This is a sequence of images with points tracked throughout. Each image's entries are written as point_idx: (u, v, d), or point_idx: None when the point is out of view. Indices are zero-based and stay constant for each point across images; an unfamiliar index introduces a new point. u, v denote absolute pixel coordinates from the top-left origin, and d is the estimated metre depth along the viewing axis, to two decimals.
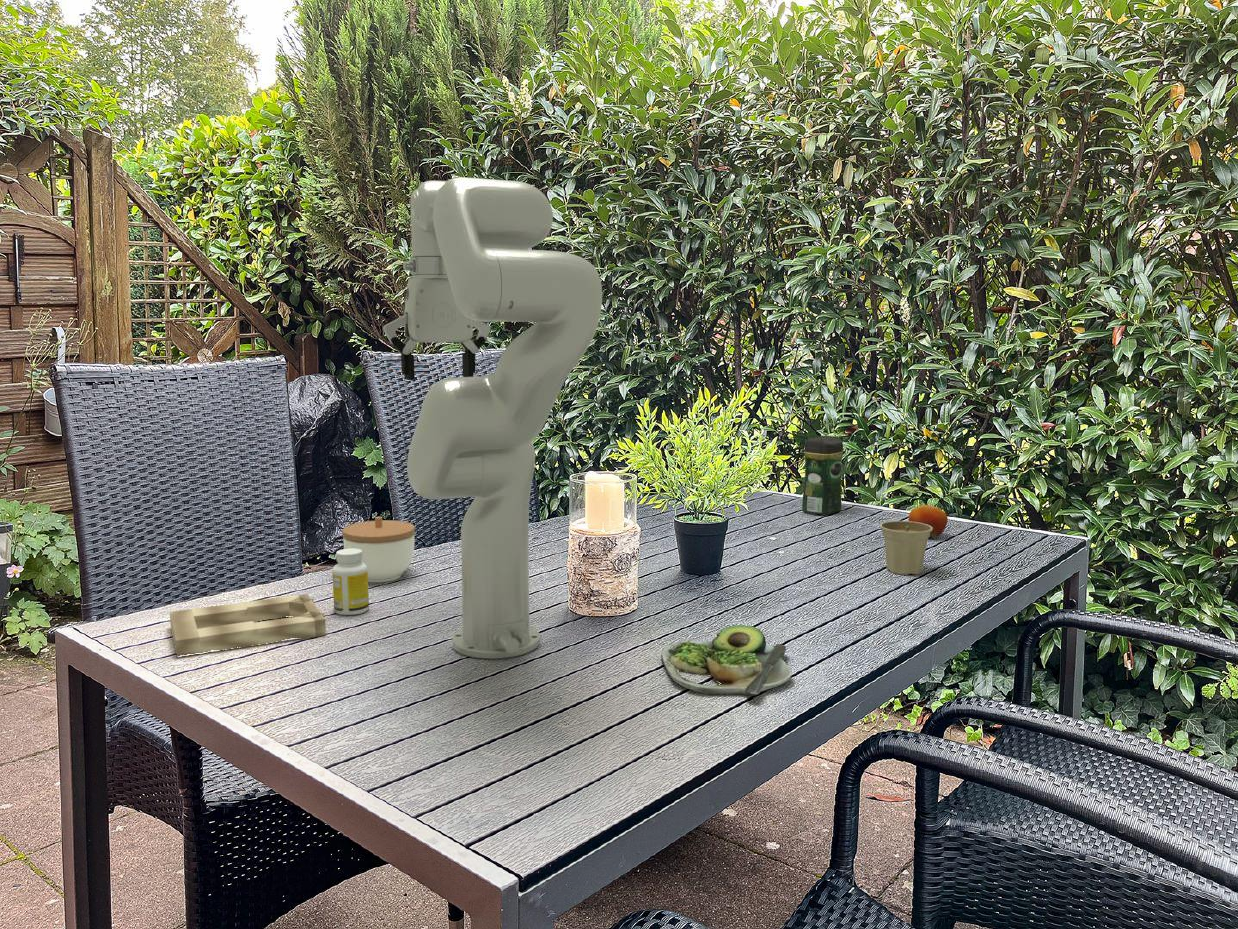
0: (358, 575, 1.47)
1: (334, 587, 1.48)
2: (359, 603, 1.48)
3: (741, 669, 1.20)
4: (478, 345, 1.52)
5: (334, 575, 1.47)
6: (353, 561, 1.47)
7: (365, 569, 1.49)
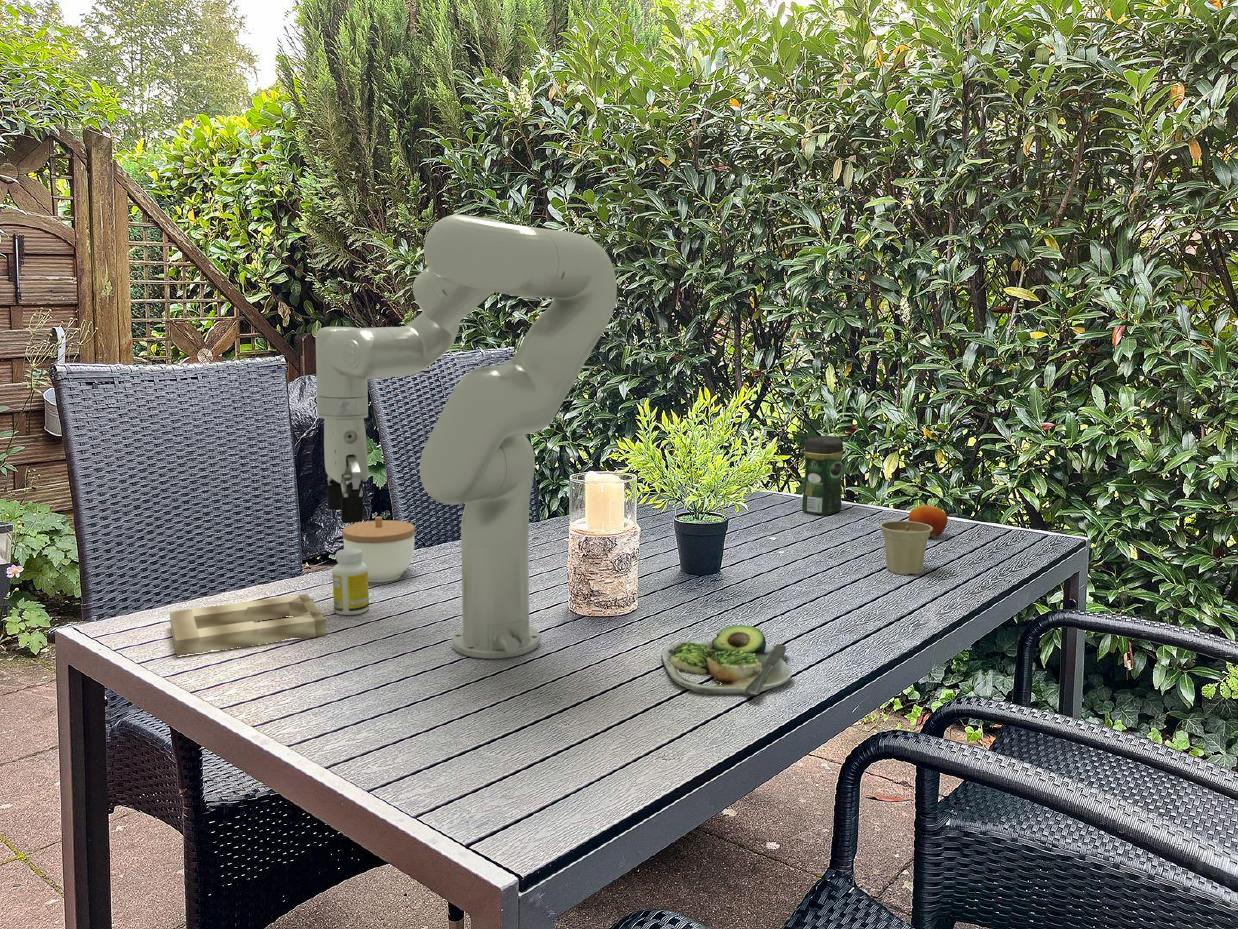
0: (358, 575, 1.47)
1: (334, 586, 1.48)
2: (359, 603, 1.48)
3: (741, 669, 1.20)
4: None
5: (334, 575, 1.47)
6: (353, 561, 1.47)
7: (365, 569, 1.49)
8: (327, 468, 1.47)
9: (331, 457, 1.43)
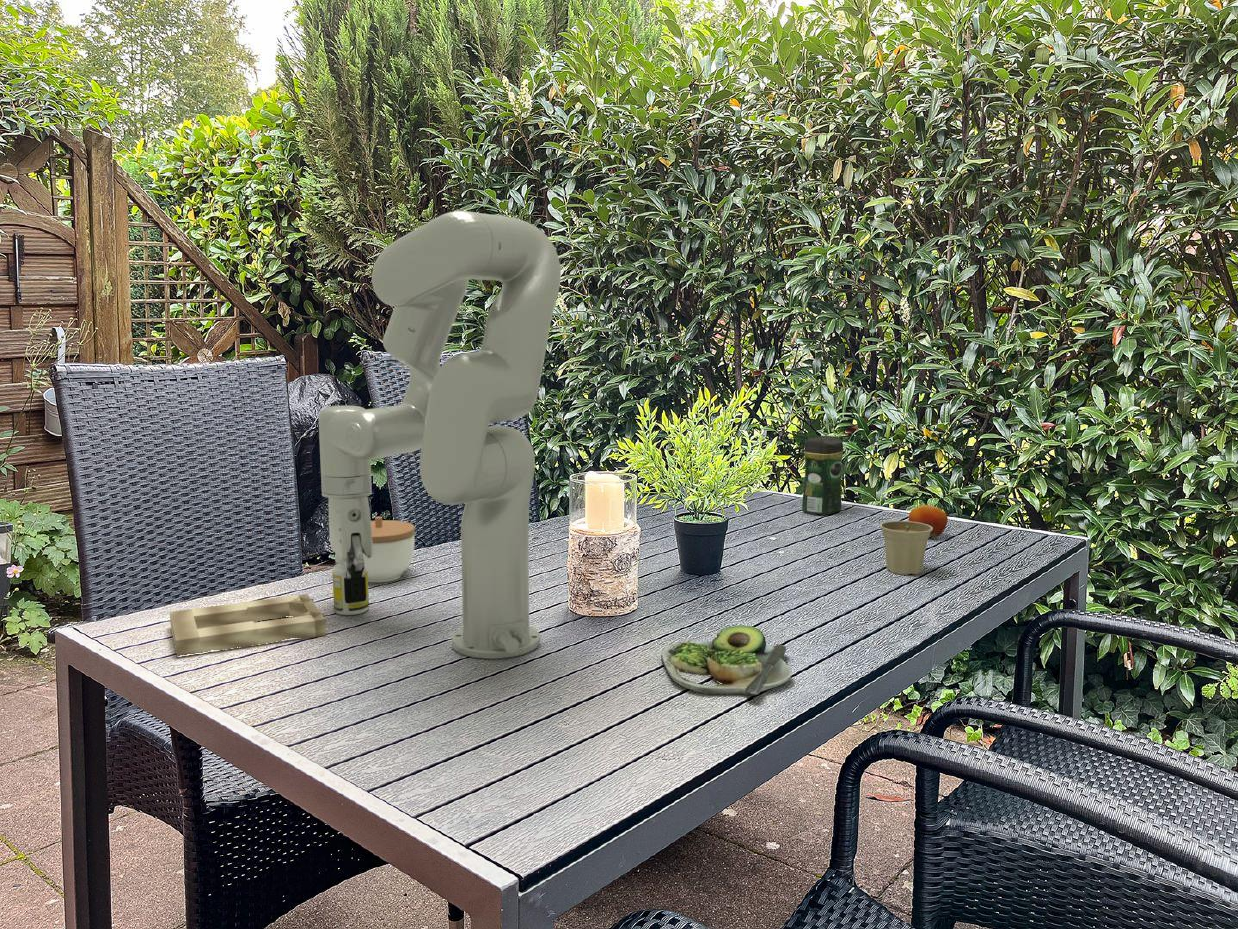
0: None
1: (334, 586, 1.48)
2: (359, 603, 1.48)
3: (741, 669, 1.20)
4: None
5: (334, 575, 1.47)
6: None
7: (365, 569, 1.49)
8: (332, 544, 1.49)
9: (336, 535, 1.45)
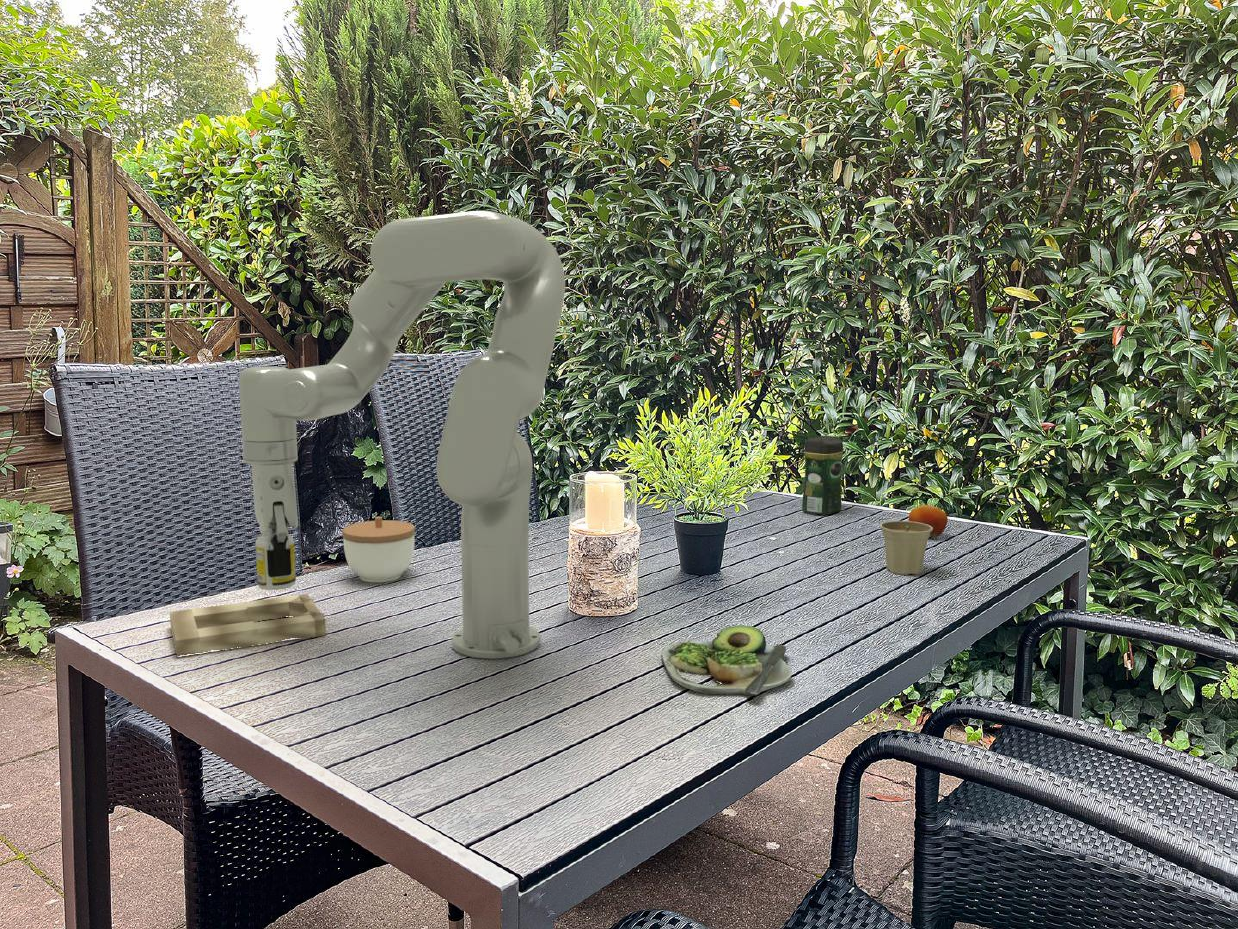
0: None
1: (257, 560, 1.39)
2: (284, 578, 1.39)
3: (741, 669, 1.20)
4: None
5: (257, 547, 1.38)
6: None
7: (291, 541, 1.40)
8: (256, 515, 1.40)
9: (258, 504, 1.36)
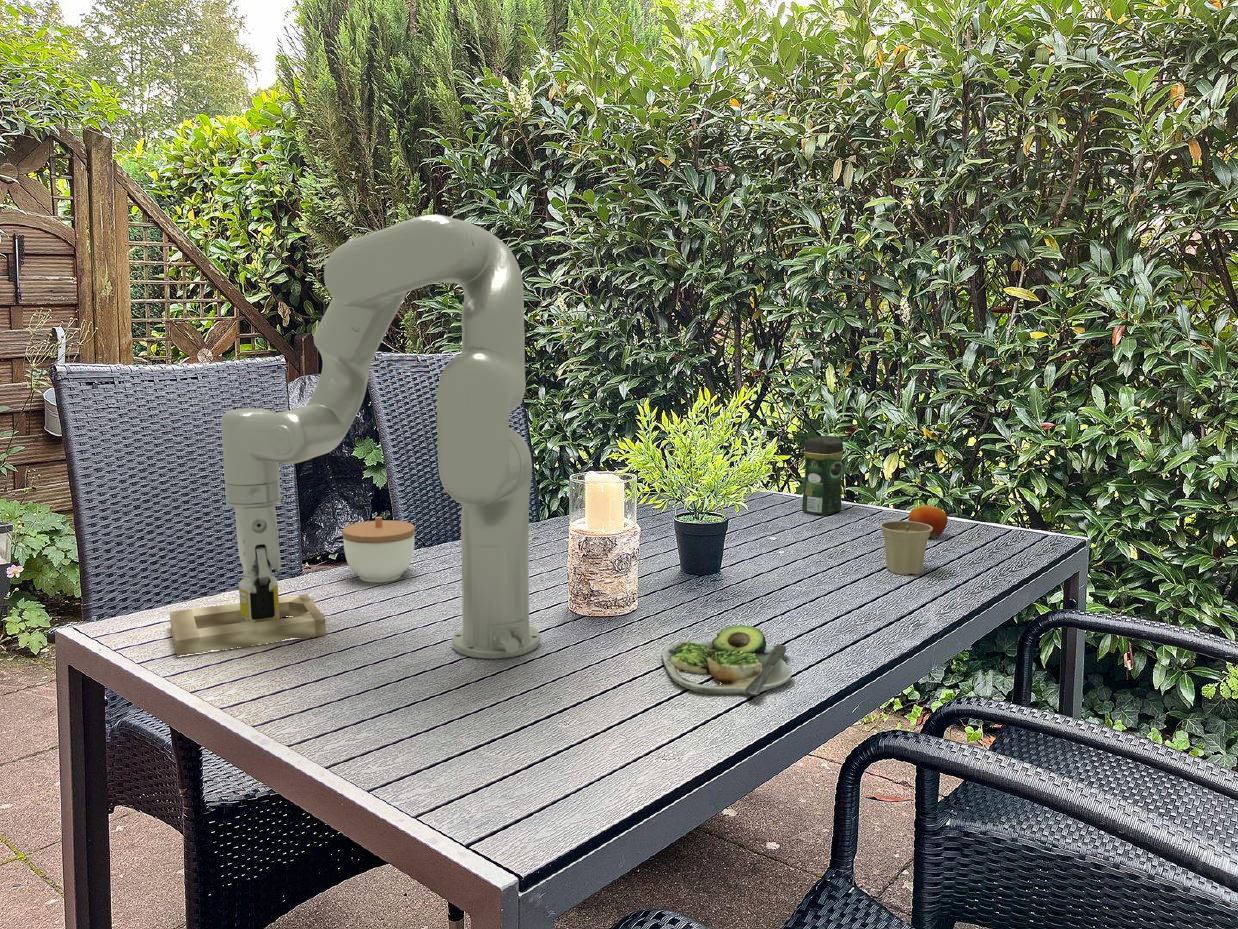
0: None
1: (240, 602, 1.39)
2: (267, 620, 1.39)
3: (741, 669, 1.20)
4: None
5: (240, 589, 1.38)
6: None
7: (274, 583, 1.39)
8: (239, 556, 1.40)
9: (241, 547, 1.36)
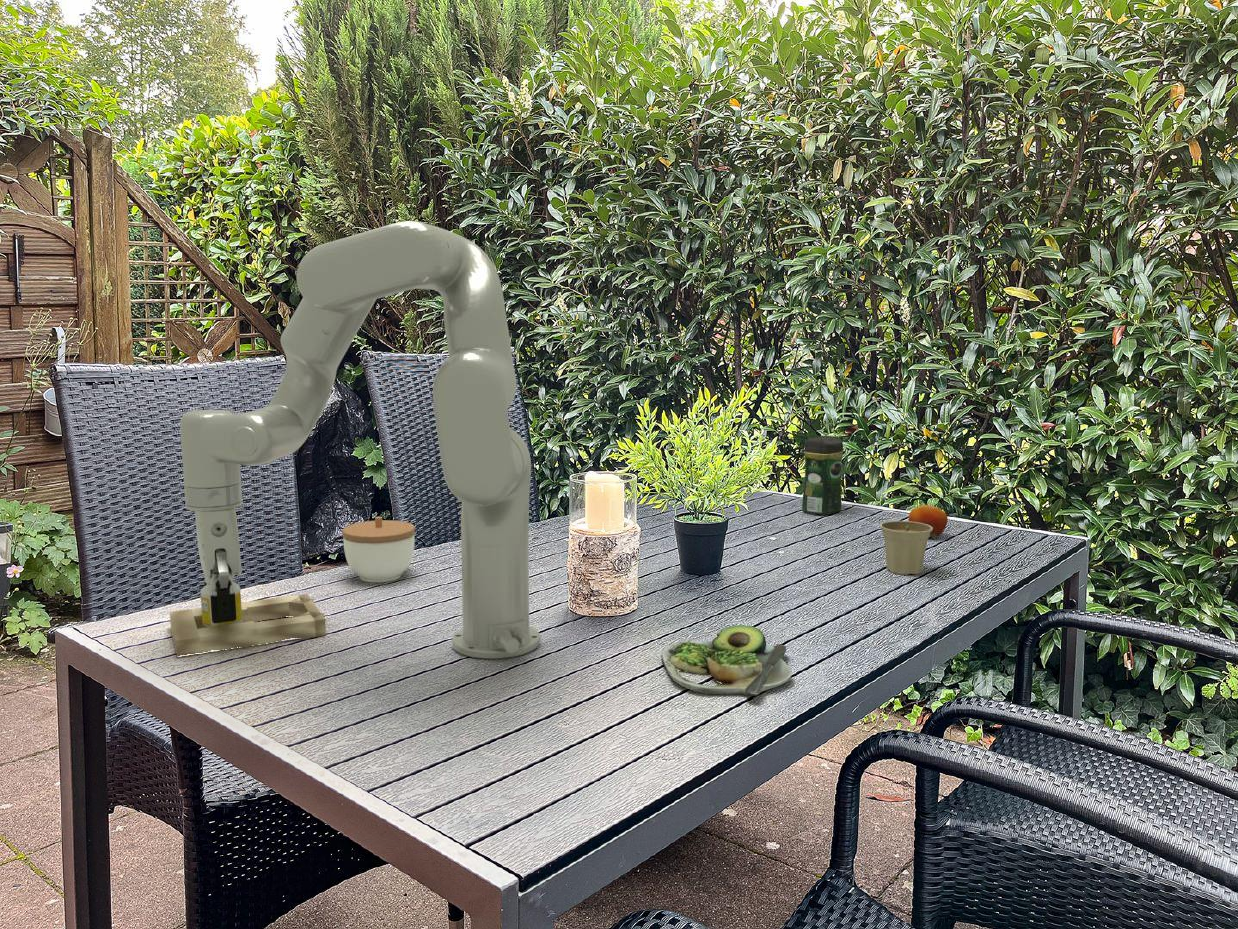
0: None
1: (202, 609, 1.36)
2: None
3: (741, 669, 1.20)
4: None
5: (202, 597, 1.36)
6: None
7: (237, 590, 1.37)
8: None
9: (200, 551, 1.33)
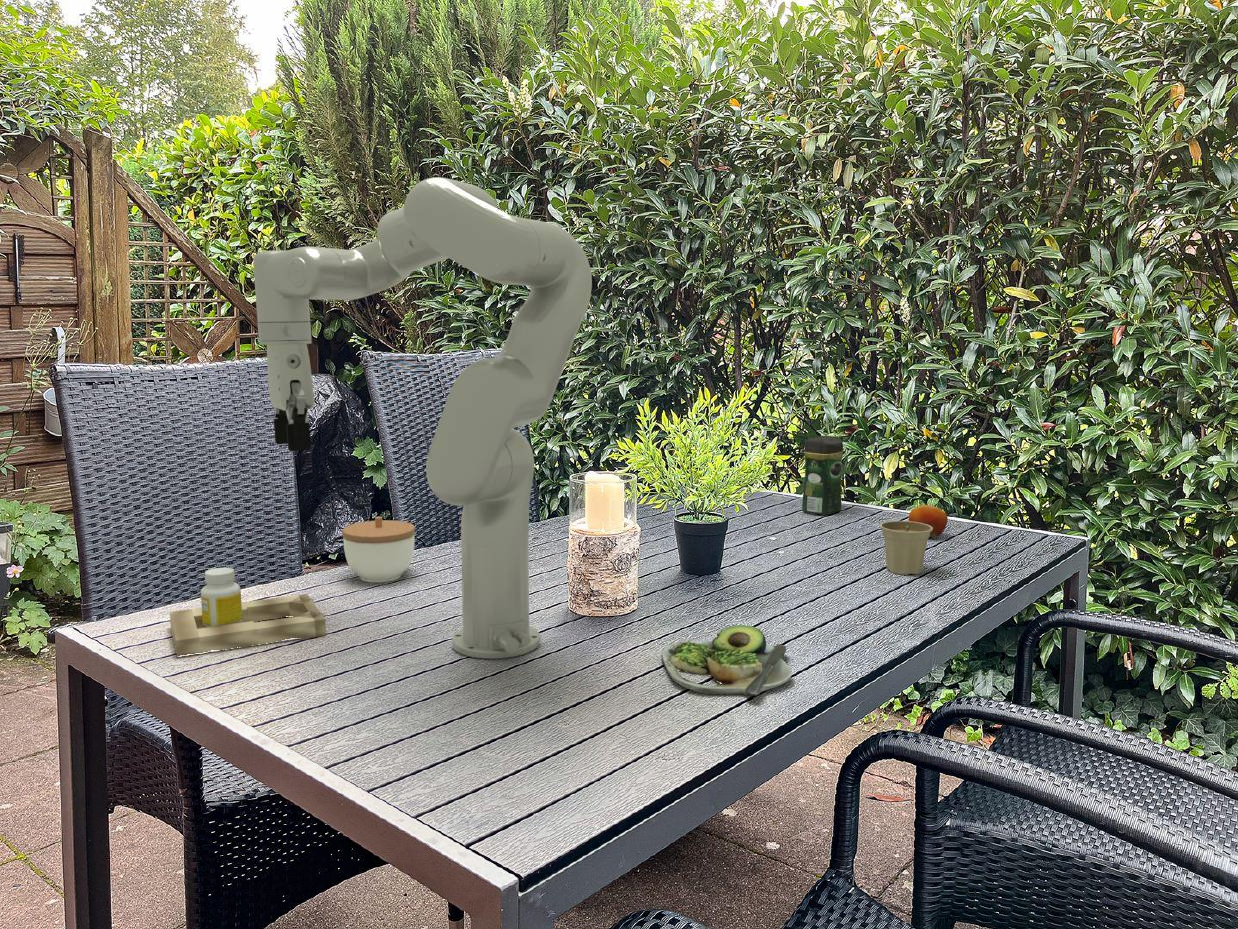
0: (228, 597, 1.35)
1: (202, 610, 1.36)
2: None
3: (741, 669, 1.20)
4: None
5: (202, 597, 1.36)
6: (223, 582, 1.36)
7: (237, 590, 1.37)
8: (272, 399, 1.44)
9: (275, 384, 1.40)
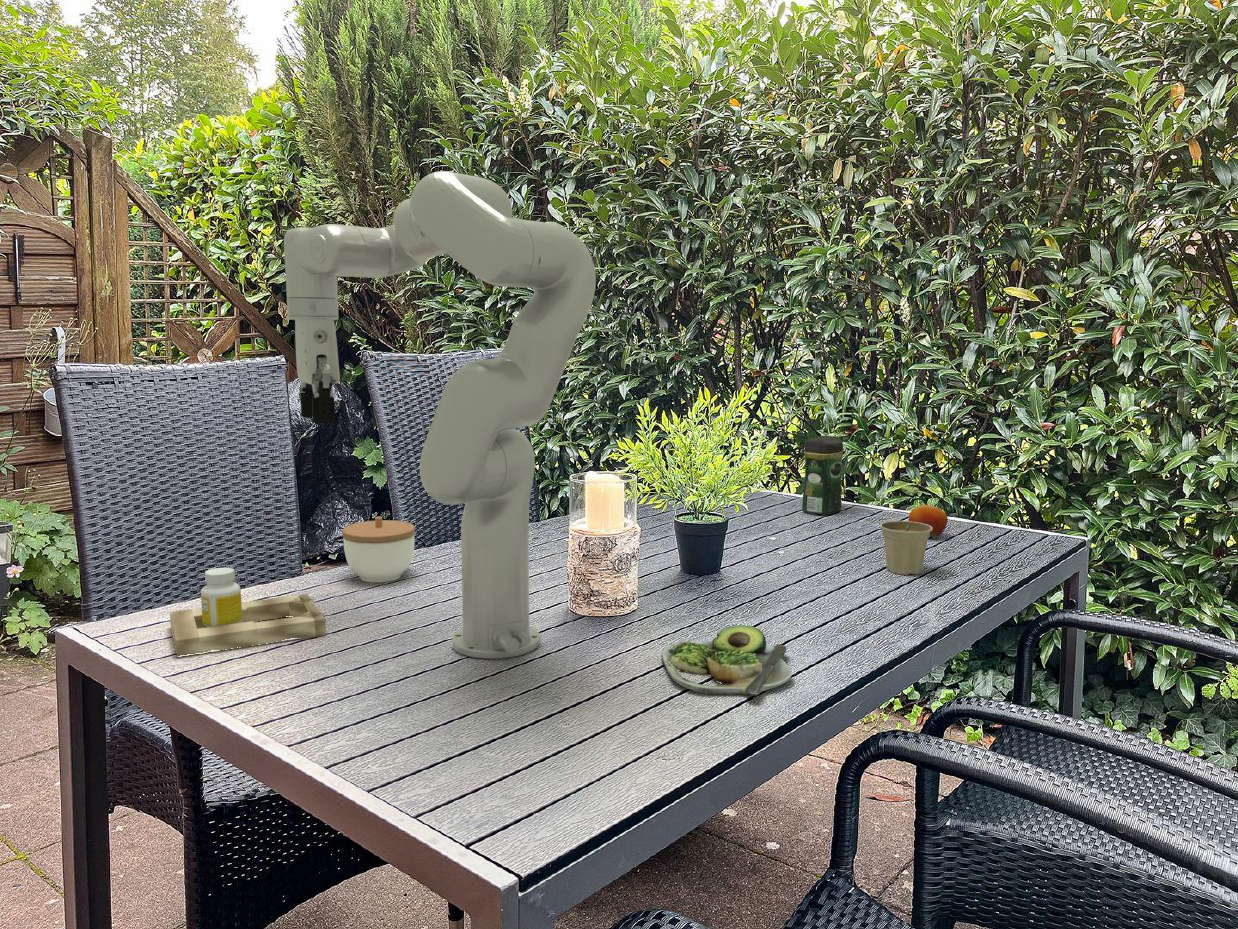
0: (228, 597, 1.36)
1: (202, 609, 1.36)
2: None
3: (741, 669, 1.20)
4: None
5: (202, 597, 1.36)
6: (223, 582, 1.36)
7: (237, 590, 1.37)
8: (299, 373, 1.48)
9: (302, 358, 1.44)
